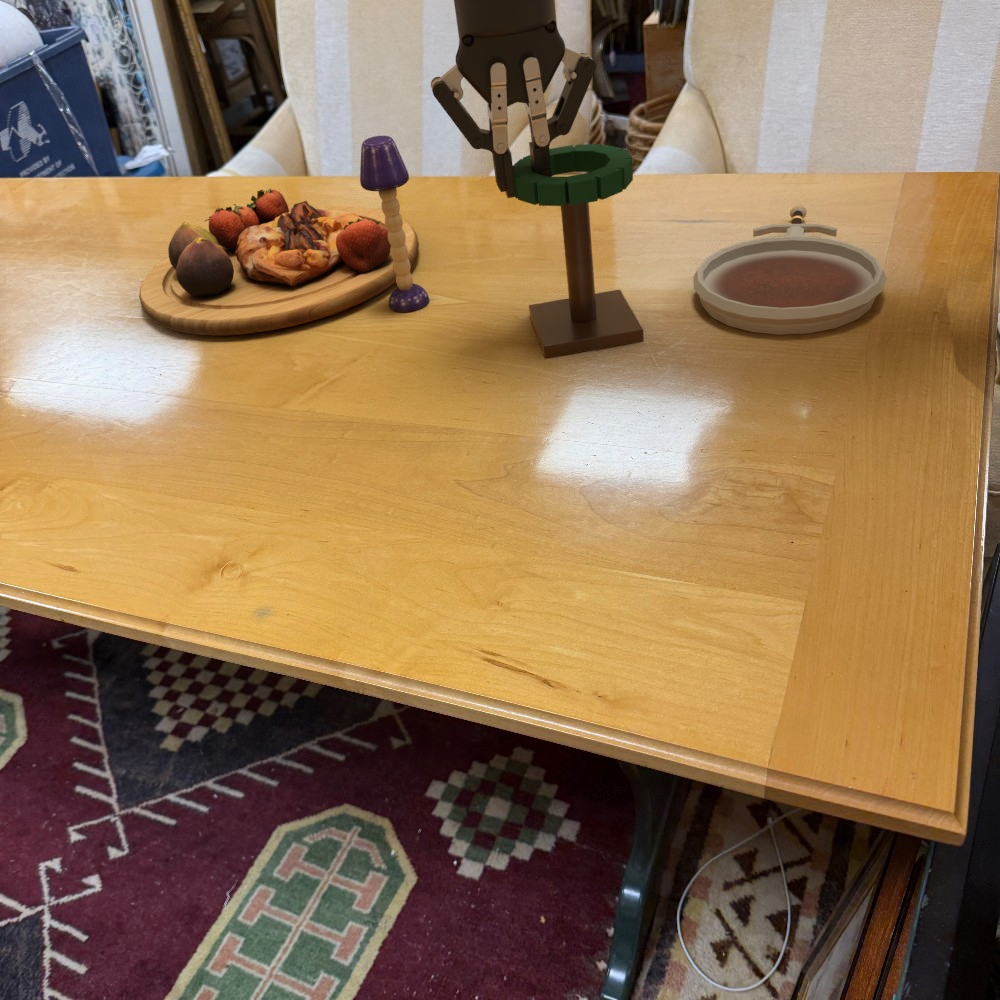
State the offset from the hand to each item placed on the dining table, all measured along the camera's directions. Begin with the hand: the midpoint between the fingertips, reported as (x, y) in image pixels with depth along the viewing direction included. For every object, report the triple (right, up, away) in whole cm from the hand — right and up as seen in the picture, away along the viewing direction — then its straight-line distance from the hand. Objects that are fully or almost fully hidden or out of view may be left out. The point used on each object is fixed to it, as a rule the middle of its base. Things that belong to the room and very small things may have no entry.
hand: (525, 191), depth 77 cm
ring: (+4, +1, 0) cm, 4 cm away
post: (+6, -10, +8) cm, 14 cm away
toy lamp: (-11, -6, +17) cm, 22 cm away
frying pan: (+26, -4, +12) cm, 29 cm away
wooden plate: (-27, 0, +28) cm, 39 cm away
